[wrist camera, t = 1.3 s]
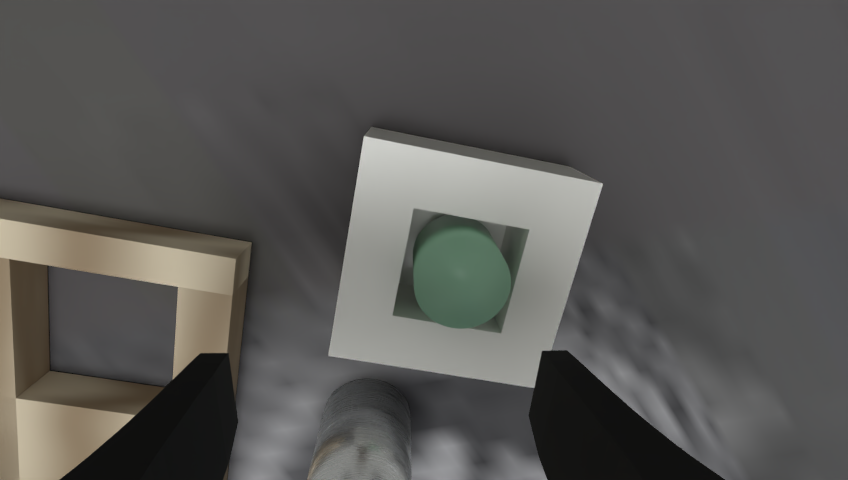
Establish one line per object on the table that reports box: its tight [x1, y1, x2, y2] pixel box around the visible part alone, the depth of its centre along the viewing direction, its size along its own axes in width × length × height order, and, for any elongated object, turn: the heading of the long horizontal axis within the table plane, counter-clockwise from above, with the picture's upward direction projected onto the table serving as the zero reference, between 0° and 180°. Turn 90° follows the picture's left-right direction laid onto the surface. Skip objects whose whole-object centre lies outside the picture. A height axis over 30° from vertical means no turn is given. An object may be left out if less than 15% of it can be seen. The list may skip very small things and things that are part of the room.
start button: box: [413, 215, 511, 329], centre depth 18 cm, size 3×3×3 cm
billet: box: [307, 379, 411, 480], centre depth 20 cm, size 4×4×6 cm
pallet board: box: [0, 199, 252, 480], centre depth 22 cm, size 10×21×2 cm, turn 169°
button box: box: [328, 127, 603, 388], centre depth 19 cm, size 8×8×4 cm
